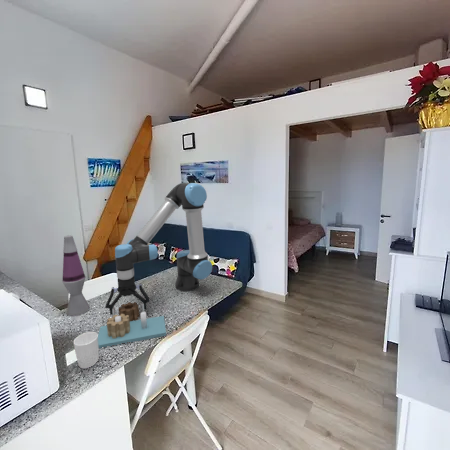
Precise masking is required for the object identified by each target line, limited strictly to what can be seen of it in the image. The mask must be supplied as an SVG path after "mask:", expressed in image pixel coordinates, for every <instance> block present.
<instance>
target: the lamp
mask: <svg viewBox="0 0 450 450" xmlns="http://www.w3.org/2000/svg"><path fill="white" fill-rule="evenodd" d="M62 250H63V251H62V252H63V261H62V280H61V281H62V283H63V285H64V287H65V289H66V290H67V292H68V294H69V299H68V304H67V306H66V307H67V308H66V310H65V311H66V316H69V317H74V316H75V317H76V316H80V315H84V314H85V313H88V312H89V310H90V309H91V308H90V304H89V303H88V301H87V300H86V298H85V296H84V294H83V289H84V285H85V281H86V274H85V271H84V268H83V266H82V263H81V259H80V255H79V253H78V249H77V245H76V243H75V239H74V236H73V235H72V234H71V235H69V234H68V235H65V236H64V237H63V249H62Z"/></svg>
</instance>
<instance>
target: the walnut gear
mask: <svg viewBox="0 0 450 450" xmlns="http://www.w3.org/2000/svg"><path fill="white" fill-rule="evenodd" d="M121 314H125V316H126V315H128V316H129V320H130V321H136V320H139V318H140V307H139V304H138V303H137V302H135V301H134V302H132V301H129V302H127V303H123V304H121V305H120V306H119V307H118V315H121Z"/></svg>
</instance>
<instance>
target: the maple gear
mask: <svg viewBox="0 0 450 450" xmlns="http://www.w3.org/2000/svg"><path fill="white" fill-rule="evenodd" d="M116 316H121V321H119V322H115V317H116ZM106 326H107V331H108V336H109V337H110V336H112V338H117V337H119V336H120V337H123V336H125V334H126V333H129V332H130V320H129V316H128V315H126V316H125V314H121V315H119V314H115V315H114V316H113V315H112V317H108V318H107V320H106Z"/></svg>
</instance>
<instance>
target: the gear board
mask: <svg viewBox="0 0 450 450" xmlns="http://www.w3.org/2000/svg"><path fill="white" fill-rule="evenodd" d="M139 315H140V319H137V320H136V321H134V320H133V321H130V332H129V333H126V334H125V336H123V337H120V336H119V337H117V338H112V336H110V337H109V336H108V331H107V325H102V326H100V327H99V331H98V333H97V334H98V345H99V348H100V349H103V348H102V347H105V348H108V347H107V346H110V347H113V346H112V345H115V346H118V345H117V344H120V345H122V344H121V343H125V344H128V343H127V342H131V343H135V341H136V342H139V341H145V340H151V339H155V338H160V337H166V336H167V330H166V323H165V317H164V315H159V316H154V317H148V318H147V312H146V311H144V312H143V311H142V312H139ZM119 321H121V316H118V315H117V316H116V317H115V322H119Z"/></svg>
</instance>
